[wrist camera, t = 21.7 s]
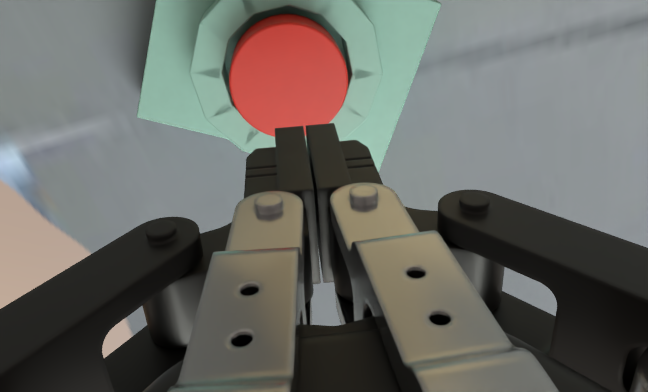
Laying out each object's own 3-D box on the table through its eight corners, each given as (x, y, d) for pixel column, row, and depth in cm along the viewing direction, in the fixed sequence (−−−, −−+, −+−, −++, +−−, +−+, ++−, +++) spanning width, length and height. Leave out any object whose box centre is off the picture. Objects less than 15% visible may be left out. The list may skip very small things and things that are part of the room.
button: (220, 108, 23) (217, 123, 22) (245, -2, 21) (244, 7, 20) (324, 134, 24) (328, 150, 23) (357, 31, 22) (364, 41, 21)
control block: (145, 101, 26) (127, 133, 23) (177, -85, 23) (162, -81, 20) (370, 156, 29) (385, 193, 25) (428, -5, 25) (455, 11, 22)
